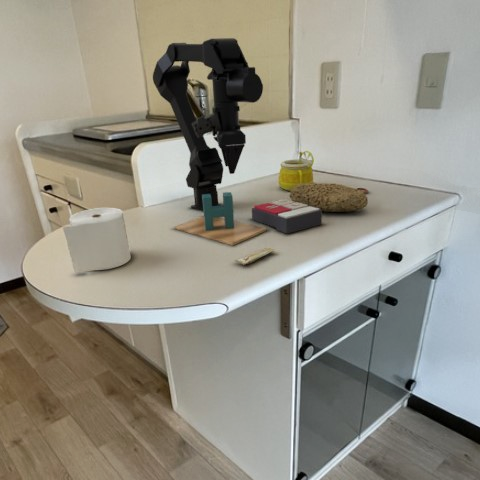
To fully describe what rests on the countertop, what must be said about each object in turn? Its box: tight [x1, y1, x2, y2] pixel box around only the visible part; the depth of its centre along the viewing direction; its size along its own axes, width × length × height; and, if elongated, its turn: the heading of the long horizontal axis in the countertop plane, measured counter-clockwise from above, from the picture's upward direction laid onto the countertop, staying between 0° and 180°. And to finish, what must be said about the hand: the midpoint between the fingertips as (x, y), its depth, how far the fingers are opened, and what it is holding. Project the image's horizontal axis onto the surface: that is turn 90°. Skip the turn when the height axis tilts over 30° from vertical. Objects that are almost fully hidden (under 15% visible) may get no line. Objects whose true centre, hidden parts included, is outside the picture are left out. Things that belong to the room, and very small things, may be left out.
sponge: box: [289, 181, 369, 213], centre depth 117 cm, size 13×8×20 cm
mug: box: [278, 150, 314, 192], centre depth 136 cm, size 13×11×12 cm
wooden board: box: [174, 215, 267, 246], centre depth 108 cm, size 20×12×1 cm, turn 48°
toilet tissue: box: [62, 207, 132, 273], centre depth 91 cm, size 11×12×10 cm
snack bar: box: [234, 247, 276, 266], centre depth 91 cm, size 10×2×3 cm
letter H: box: [202, 191, 235, 231], centre depth 106 cm, size 3×7×8 cm, turn 98°
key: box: [356, 187, 369, 194], centre depth 127 cm, size 6×1×15 cm
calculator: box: [251, 198, 323, 234], centre depth 110 cm, size 11×4×15 cm
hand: (229, 169), depth 112 cm, fingers open, 9 cm apart
